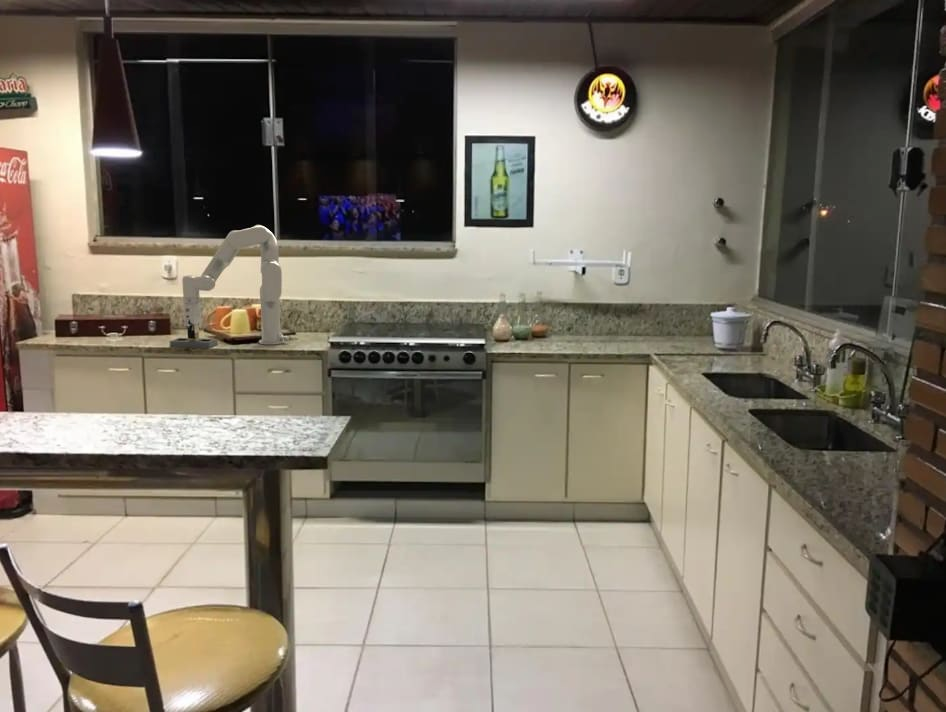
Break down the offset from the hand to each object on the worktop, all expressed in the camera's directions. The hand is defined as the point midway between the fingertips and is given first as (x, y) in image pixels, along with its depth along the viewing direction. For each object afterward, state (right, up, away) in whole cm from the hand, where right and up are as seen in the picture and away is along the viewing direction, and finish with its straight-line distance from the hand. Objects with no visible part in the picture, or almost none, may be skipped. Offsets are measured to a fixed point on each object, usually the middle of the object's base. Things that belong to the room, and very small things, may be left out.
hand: (193, 337), depth 383 cm
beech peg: (0, -2, 0) cm, 2 cm away
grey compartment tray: (0, -4, +1) cm, 4 cm away
